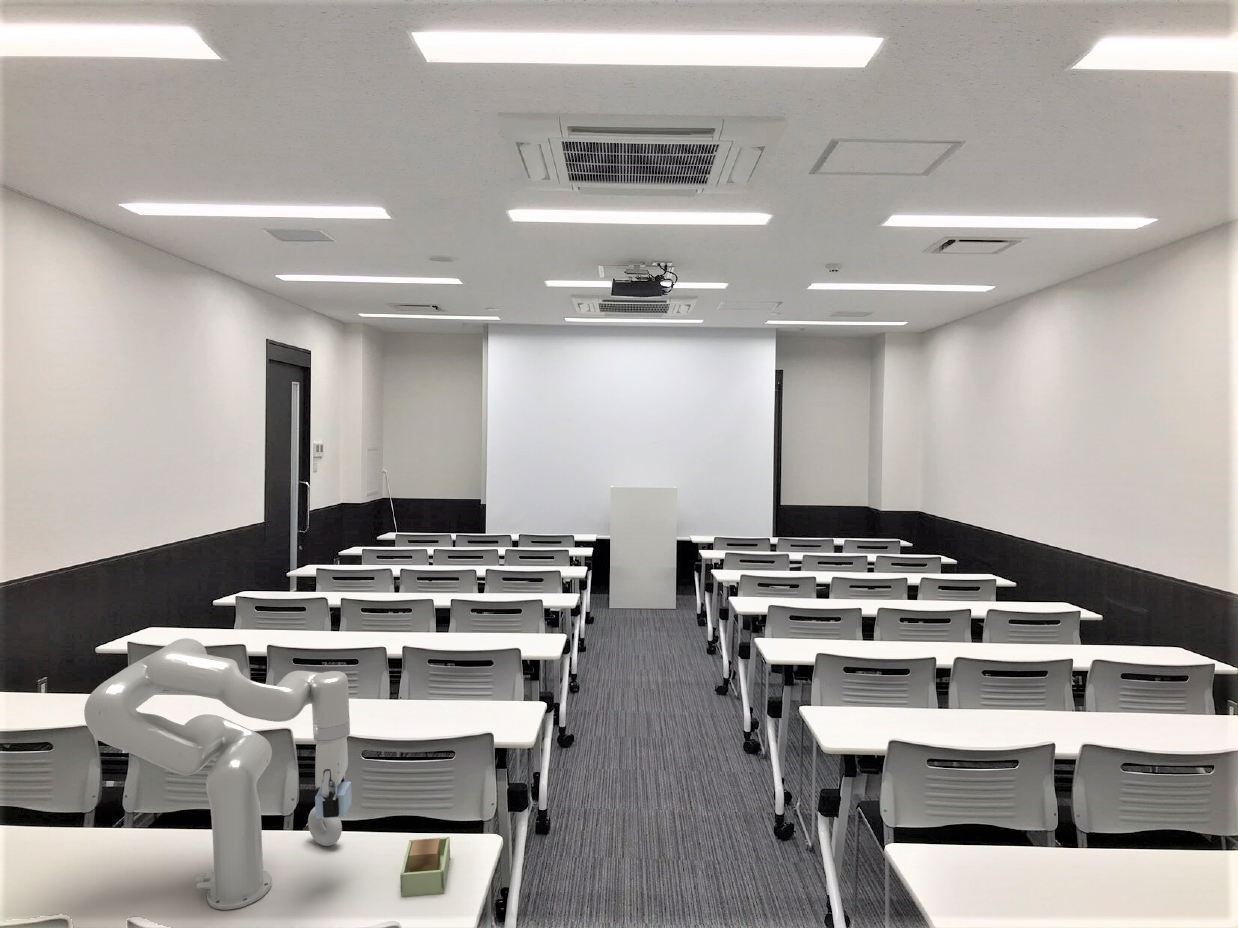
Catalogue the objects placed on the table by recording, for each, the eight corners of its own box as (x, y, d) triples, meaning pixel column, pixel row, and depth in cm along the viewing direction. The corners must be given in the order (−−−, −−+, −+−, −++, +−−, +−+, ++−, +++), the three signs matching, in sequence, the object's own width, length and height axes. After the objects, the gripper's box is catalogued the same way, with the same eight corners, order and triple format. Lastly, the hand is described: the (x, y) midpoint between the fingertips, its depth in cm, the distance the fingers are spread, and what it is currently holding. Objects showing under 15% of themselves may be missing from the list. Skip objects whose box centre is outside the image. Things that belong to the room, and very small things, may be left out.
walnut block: (409, 881, 165) (409, 855, 165) (413, 864, 171) (413, 839, 171) (437, 879, 166) (436, 853, 166) (440, 862, 172) (439, 837, 172)
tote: (400, 896, 162) (400, 874, 161) (410, 860, 175) (409, 839, 174) (444, 892, 163) (443, 871, 162) (450, 857, 176) (449, 836, 176)
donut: (305, 842, 182) (304, 803, 181) (317, 835, 185) (315, 796, 184) (334, 853, 177) (332, 813, 177) (345, 846, 181) (344, 806, 180)
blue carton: (316, 818, 162) (315, 796, 161) (324, 804, 168) (323, 782, 167) (344, 817, 162) (343, 794, 162) (351, 802, 168) (350, 781, 168)
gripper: (324, 714, 172) (327, 789, 173) (302, 748, 155) (306, 831, 156) (358, 712, 173) (361, 787, 174) (339, 745, 156) (343, 828, 157)
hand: (335, 807), depth 165 cm, fingers closed on blue carton, 6 cm apart
